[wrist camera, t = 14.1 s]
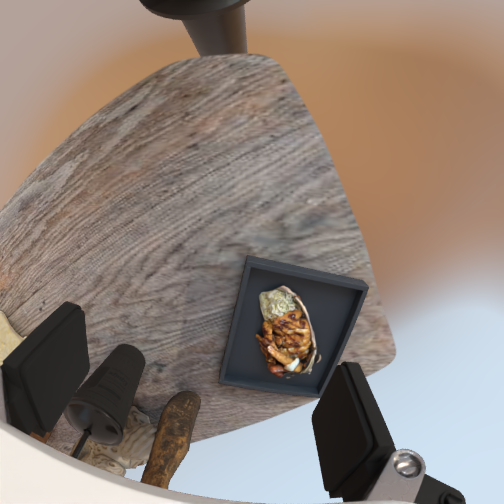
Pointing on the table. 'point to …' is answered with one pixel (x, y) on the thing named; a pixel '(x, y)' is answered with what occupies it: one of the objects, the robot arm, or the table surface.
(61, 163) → the table surface
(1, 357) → the cheese
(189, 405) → the sculpture
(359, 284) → the serving tray
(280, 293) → the taco
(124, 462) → the teapot
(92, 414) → the drinking cup
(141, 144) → the table surface
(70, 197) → the table surface
